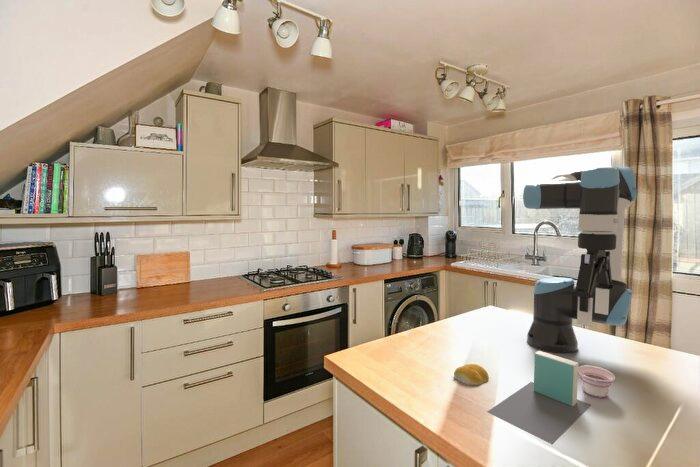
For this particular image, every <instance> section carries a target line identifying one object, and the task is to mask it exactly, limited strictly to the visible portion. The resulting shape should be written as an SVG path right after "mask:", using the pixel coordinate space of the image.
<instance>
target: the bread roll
mask: <svg viewBox="0 0 700 467" xmlns="http://www.w3.org/2000/svg"><path fill="white" fill-rule="evenodd" d="M453 376H454V379H455V381H458V382H459V381H460V382H461V383H463V384H465V385H468V386H480V385H482V384H483V383H487V382H488V381H489V380H490V379H489V378H490V377H489V374H488V372H487V370H486V369H485V368H484V367H483V366H481V365H479V364H476V363H475V364H474V363H471V364H463V365H462V366H459V367H457V368H456V369H455V370H454V373H453Z"/></svg>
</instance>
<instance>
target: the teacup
mask: <svg viewBox="0 0 700 467" xmlns="http://www.w3.org/2000/svg"><path fill="white" fill-rule="evenodd" d="M578 376H580V377H579V378H580V379H581V381H582V387H581V388H582V390H583V391H584V393H587V394H588V395H589V396H592V397H595V398H604V397H608V396H609V387H610V386H611V385H612V383H614V382H615V380H616V376H615V375H614V373H612V371H610V370H608V369H605V368H603V367H601V366H596V365H591V364H589V365H588V364H584V365H580V366H578Z"/></svg>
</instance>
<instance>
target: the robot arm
mask: <svg viewBox="0 0 700 467" xmlns="http://www.w3.org/2000/svg"><path fill="white" fill-rule="evenodd" d="M637 196H638V194H637V182H636V176H635V172H634V169H633V168H632V167H631V166H615V167H594V168H587V169H585V168H584V169H576V170H571V171H567V172H564V173H561V174H558V175H556V176H554V177H553V178H551V179H550V180H549V181H546V182H533V183H526V185H524V189H523V193H522V199H523V200H522V201H523V205H524V207H525V208H526V209H530V210H531V209H532V210H534V209H535V210H544V209H545V210H546V209H547V210H550V209H554V210H555V209H556V210H557V209H566V210H567V209H569V210H570V209H573V210H574V209H575V210H576V209H577V210H579V211H578V212H579V214H578V231H579V234H578V236H577V247H578V248H579V249H581V250H586V254H585V253H582V254H581V255H580V263H579V264H580V265H579V270H578V275H577V279H576V280H577V281H576V283H575V281H574V278H570V277H545V278H540V279H538V280H537V281H535V283H534V289H533V290H534V291H533V315H532V316H533V319H532V323H531V324H530V327H529V330H528V332H527V335H526V337H527V339H526V342H528V344H529V345H531V346H533V347H535V349H536V348H537V349H539V350H541V351H542V350H543V351H547V352H551V353H558V354H559V353H560V354H570V353H571V354H572V353H575V352H577V351H578V339H577V336H576V333H575V330H574V327H573V320H576V324H577V325H583V326H587V327H592V324H593V323H598V324H603V325H606V326H607V325H610V326H615V327H617V326H624V325H625V324H626V323H627V319H628V315H629V311H630V306H631V302H632V297H633V290H632V289H630V288H628V283H627V282H626V281H625V280H624V279H623V278H622V267H623V249H624V246H623V245H624V230H625V229H624V228H625V212H626V211H625V210H626V209H629V207H631V204H632V202H634V201H636V200H637Z"/></svg>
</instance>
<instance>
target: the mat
mask: <svg viewBox="0 0 700 467" xmlns="http://www.w3.org/2000/svg"><path fill="white" fill-rule="evenodd" d="M591 406H592V404H591V403H588V402H585V401H582V400H580V399H578V398H577V403H576V404H575V405H574V406H571V405H568V404H566V403H563V402H561V401H558V400H556V399H553V398H551V397H548V396H546V395H543V394H541V393H538V392H536V391H534V381H530V382H528V383H527V384H526V385H524V386H522V387H521V388H519V389H518V390H516V392H514V393H512V394H510V395H508V397H506V398H505V399H504V400H502V401H501V402H499V403H498V404H496V405H495V406H493V407H491V408H490V409H489V410H487V411H486V413H489V414H490V415H492V416H494V417H496V418H499V419H500V420H502V421H504V422H506V423H509V424H510V425H513V426H515V427H517V428H518V429H520V430H522V431H524V432H527V433H529V434H531V435H533V436H535V437H537V438H539V439H541V440H542V441H545V442H547V443H548V444H551V445H553V444H554V443H555V442H556V441H558V439H559V438H560V437H561V436H563V435H564V433H565V432H566V431H567V430H568V429H569V428H570V427H571V426H573V424H574V423H575V422H576V421H577V420H579V418H580V417H581V416H582V415H584V413H586V411H587V410H588V409H589V408H590V407H591Z"/></svg>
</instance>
